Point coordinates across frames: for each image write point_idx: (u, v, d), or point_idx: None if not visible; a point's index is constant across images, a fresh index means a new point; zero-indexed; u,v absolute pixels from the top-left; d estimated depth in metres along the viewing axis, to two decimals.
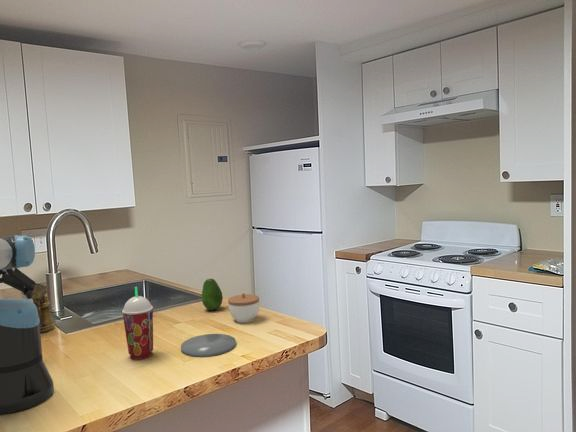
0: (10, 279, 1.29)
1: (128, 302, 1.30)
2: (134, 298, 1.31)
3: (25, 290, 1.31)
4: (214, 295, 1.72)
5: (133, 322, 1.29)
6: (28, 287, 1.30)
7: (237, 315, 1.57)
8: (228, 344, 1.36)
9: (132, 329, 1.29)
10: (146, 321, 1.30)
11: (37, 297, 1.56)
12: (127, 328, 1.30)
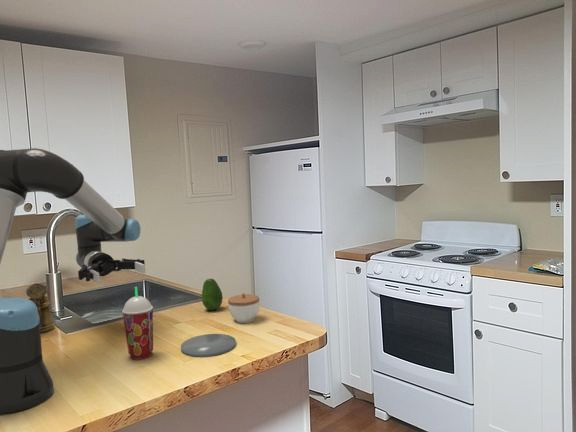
0: None
1: (128, 302, 1.30)
2: (134, 298, 1.31)
3: None
4: (214, 295, 1.72)
5: (133, 322, 1.29)
6: (140, 260, 1.51)
7: (237, 315, 1.57)
8: (228, 344, 1.36)
9: (132, 329, 1.29)
10: (146, 321, 1.30)
11: (37, 297, 1.56)
12: (127, 328, 1.30)
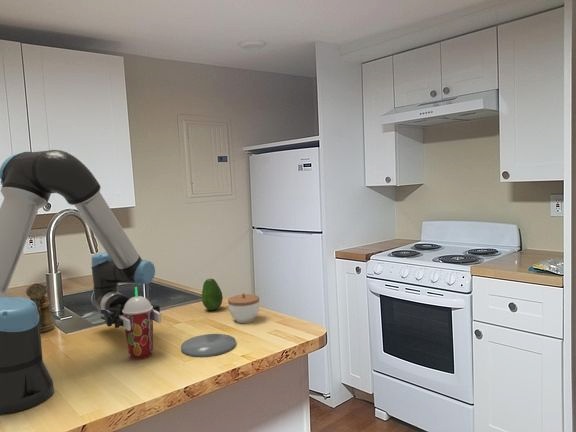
0: None
1: (128, 302, 1.30)
2: (134, 298, 1.31)
3: (153, 307, 1.38)
4: (214, 295, 1.72)
5: (133, 322, 1.29)
6: (155, 306, 1.40)
7: (237, 315, 1.57)
8: (228, 344, 1.36)
9: (132, 329, 1.29)
10: (146, 321, 1.30)
11: (37, 297, 1.56)
12: None
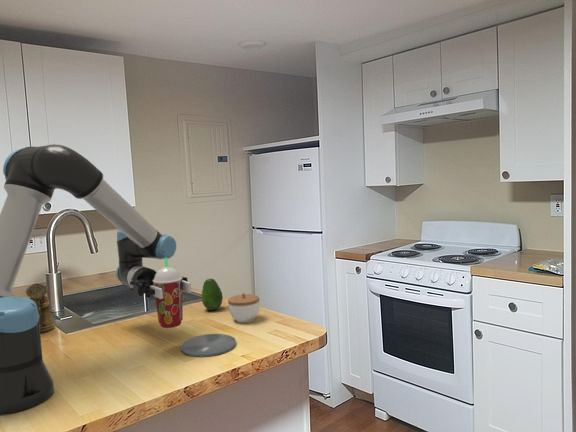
0: None
1: (159, 272, 1.33)
2: (164, 268, 1.34)
3: None
4: (214, 295, 1.72)
5: (164, 291, 1.32)
6: (183, 277, 1.43)
7: (237, 315, 1.57)
8: (228, 344, 1.36)
9: (163, 298, 1.32)
10: (176, 291, 1.33)
11: (37, 297, 1.56)
12: None
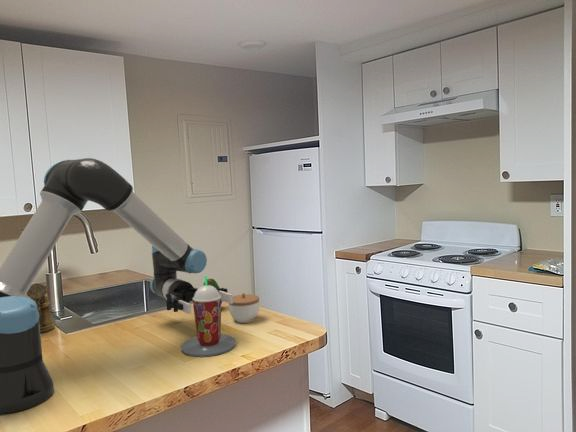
0: None
1: (199, 290, 1.35)
2: (204, 287, 1.36)
3: (221, 290, 1.45)
4: None
5: (204, 310, 1.34)
6: (222, 288, 1.47)
7: (237, 315, 1.57)
8: (228, 344, 1.36)
9: (203, 316, 1.34)
10: (216, 309, 1.35)
11: (37, 297, 1.56)
12: (198, 315, 1.35)
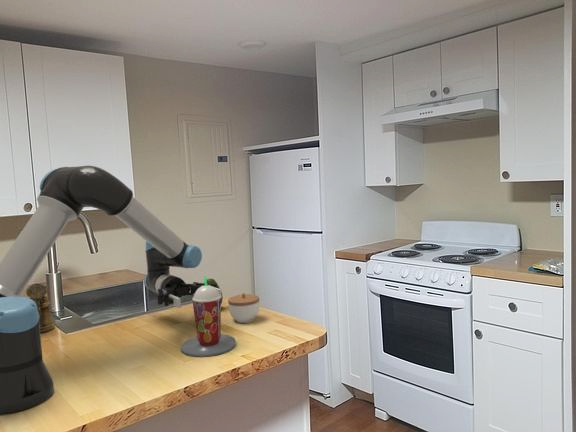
0: None
1: (198, 291, 1.35)
2: (204, 287, 1.36)
3: (211, 285, 1.51)
4: None
5: (204, 310, 1.34)
6: (212, 284, 1.53)
7: (237, 315, 1.57)
8: (228, 344, 1.36)
9: (203, 316, 1.34)
10: (216, 309, 1.35)
11: (37, 297, 1.56)
12: (198, 316, 1.35)
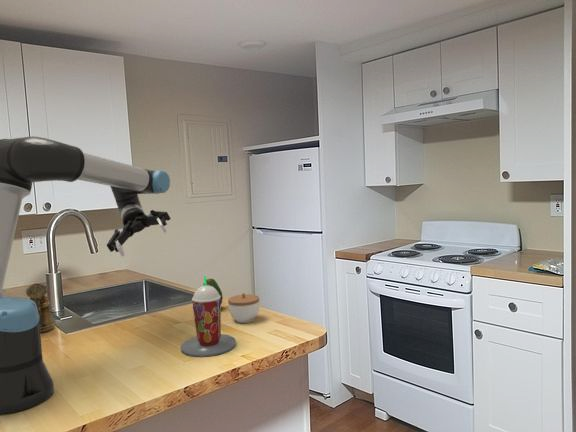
0: None
1: (198, 291, 1.35)
2: (204, 287, 1.36)
3: None
4: None
5: (204, 310, 1.34)
6: (163, 212, 1.45)
7: (237, 315, 1.57)
8: (228, 344, 1.36)
9: (203, 317, 1.34)
10: (215, 309, 1.35)
11: (37, 297, 1.56)
12: (198, 316, 1.35)
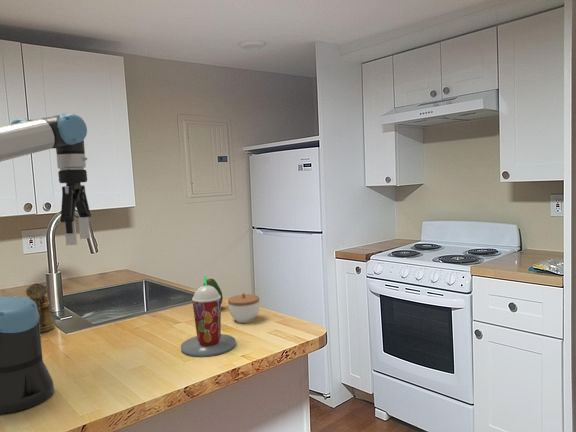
0: None
1: (198, 291, 1.35)
2: (204, 287, 1.36)
3: None
4: None
5: (204, 310, 1.34)
6: None
7: (237, 315, 1.57)
8: (228, 344, 1.36)
9: (203, 317, 1.34)
10: (216, 309, 1.35)
11: (37, 297, 1.56)
12: (198, 316, 1.35)
